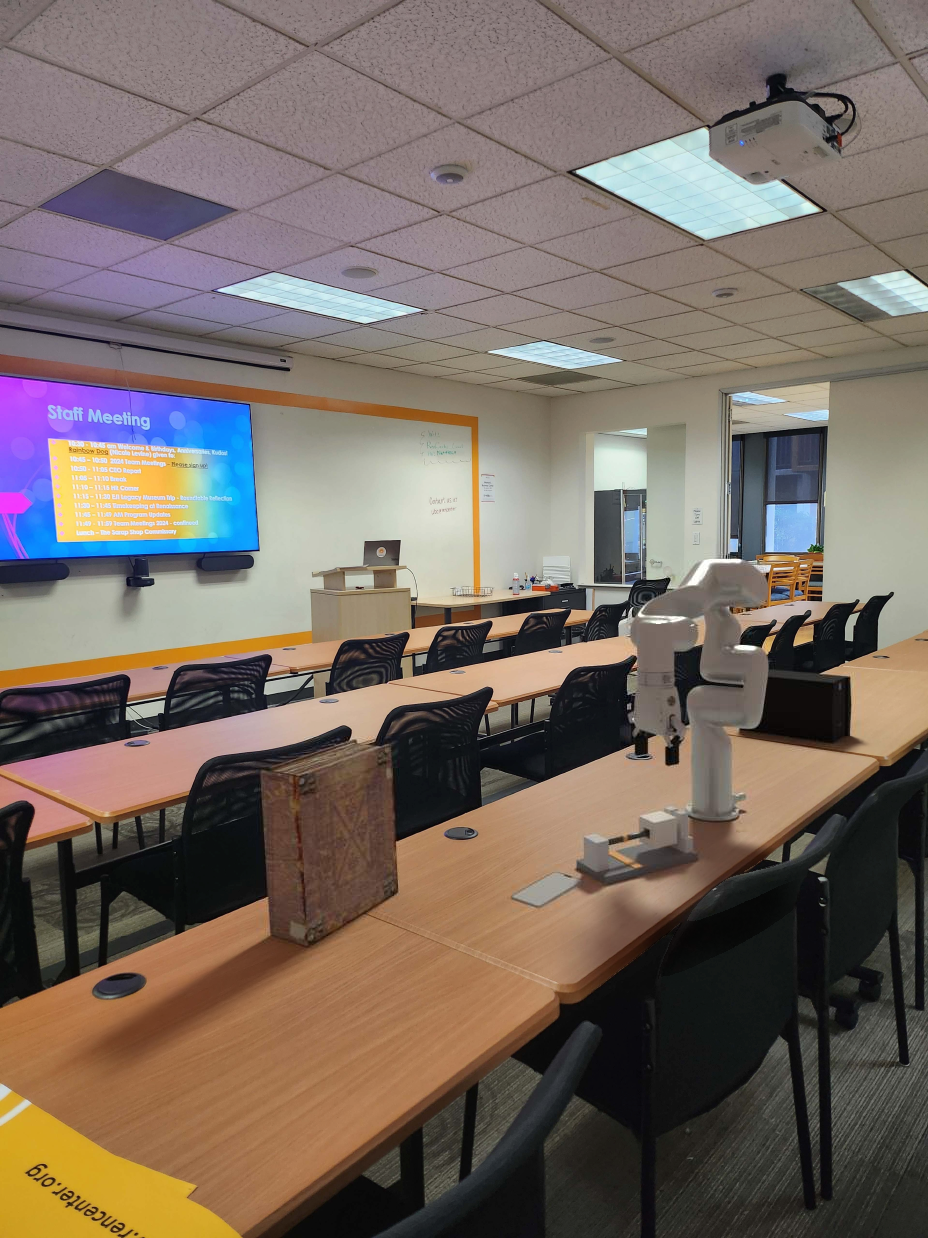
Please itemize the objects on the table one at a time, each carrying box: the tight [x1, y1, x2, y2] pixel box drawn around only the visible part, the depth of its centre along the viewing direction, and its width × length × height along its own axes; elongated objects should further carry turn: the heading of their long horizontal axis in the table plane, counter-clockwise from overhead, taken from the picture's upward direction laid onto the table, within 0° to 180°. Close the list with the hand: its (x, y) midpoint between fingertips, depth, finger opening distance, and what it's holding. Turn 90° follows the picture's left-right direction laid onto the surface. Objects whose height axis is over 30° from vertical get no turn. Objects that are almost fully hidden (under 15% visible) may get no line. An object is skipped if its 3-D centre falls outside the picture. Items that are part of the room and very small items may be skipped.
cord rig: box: [576, 805, 699, 885], centre depth 168 cm, size 24×10×10 cm, turn 117°
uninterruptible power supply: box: [737, 668, 853, 744], centre depth 275 cm, size 16×34×20 cm, turn 44°
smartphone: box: [510, 871, 584, 908], centre depth 157 cm, size 7×1×15 cm
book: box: [259, 738, 399, 948], centre depth 149 cm, size 25×9×30 cm, turn 147°
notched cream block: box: [638, 810, 677, 849], centre depth 170 cm, size 6×5×6 cm
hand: (656, 759), depth 169 cm, fingers open, 9 cm apart
